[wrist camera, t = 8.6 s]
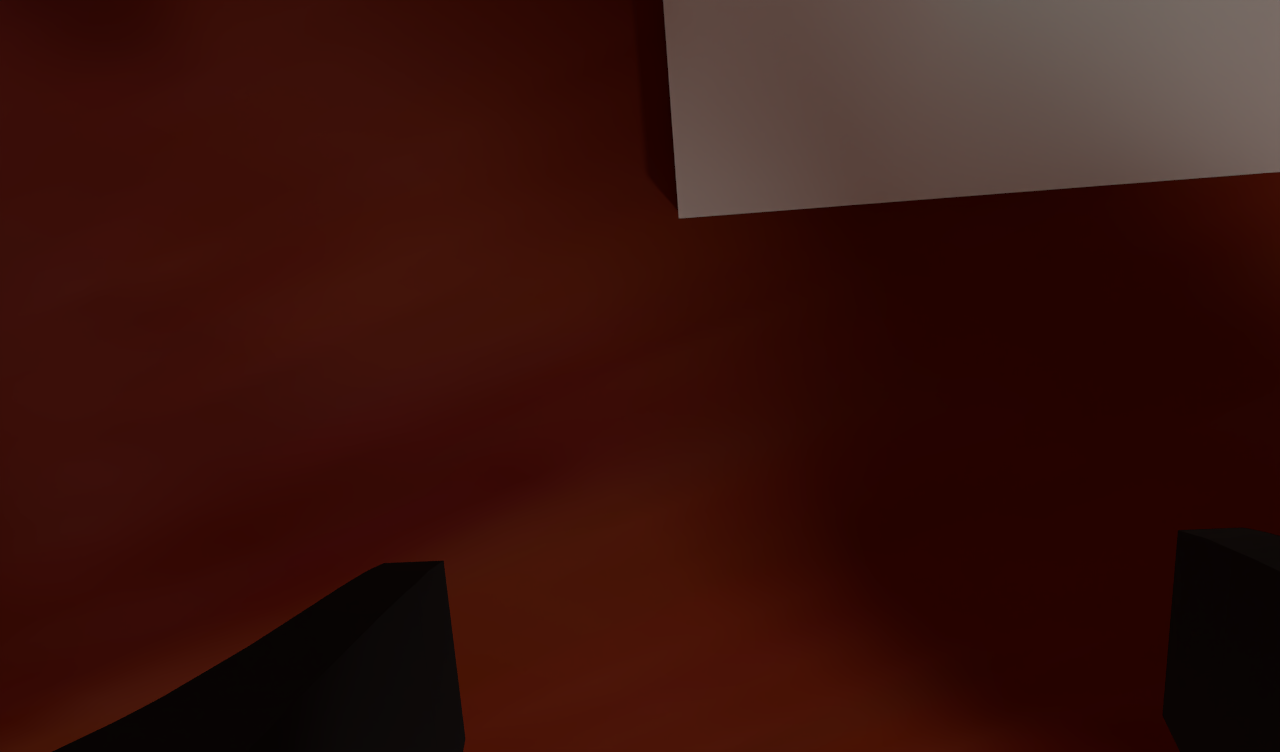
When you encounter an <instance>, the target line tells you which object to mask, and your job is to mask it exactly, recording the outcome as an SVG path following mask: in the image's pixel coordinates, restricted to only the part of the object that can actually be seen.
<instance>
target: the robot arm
mask: <svg viewBox="0 0 1280 752" xmlns="http://www.w3.org/2000/svg"><path fill="white" fill-rule="evenodd" d="M1163 717H1164V719H1165V721H1166V724H1167V726H1168V728H1169V730H1170V732H1171V734H1172V736H1173V738H1174V740H1175V742H1176V744H1177V746H1178V748H1179V751H1180V752H1280V536H1278V535H1274V534H1270V533H1266V532H1262V531H1257V530H1252V529H1248V528H1223V529H1199V530H1178V537H1177V549H1176V561H1175V573H1174V585H1173V597H1172V609H1171V621H1170V633H1169V645H1168V657H1167V669H1166V681H1165V693H1164V705H1163ZM464 743H465V732H464V724H463V716H462V708H461V700H460V691H459V683H458V675H457V667H456V659H455V651H454V642H453V634H452V626H451V618H450V610H449V602H448V594H447V585H446V577H445V569H444V561H427V562H403V563H383V564H381V565H379V566H377V567H374V568H372V569H370V570H368V571H367V572H365V573H363V574H361V575H360V576H358V577H356V578H354V579H353V580H351V581H350V582H348V583H346V584H345V585H343V586H341V587H340V588H338V589H337V590H335V591H334V592H332V593H331V594H329V595H327V596H326V597H324V598H323V599H321V600H320V601H318V602H317V603H315V604H314V605H312V606H310V607H309V608H307V609H306V610H304V611H303V612H301V613H300V614H298V615H297V616H295V617H293V618H292V619H290V620H289V621H287V622H286V623H284V624H283V625H281V626H279V627H278V628H276V629H275V630H273V631H272V632H270V633H269V634H267V635H266V636H264V637H262V638H261V639H259V640H258V641H256V642H255V643H253V644H251V645H250V646H248V647H247V648H245V649H243V650H242V651H240V652H238V653H236V654H235V655H233V656H231V657H230V658H228V659H226V660H225V661H223V662H221V663H219V664H218V665H216V666H214V667H213V668H211V669H209V670H208V671H206V672H204V673H202V674H201V675H199V676H197V677H196V678H194V679H192V680H191V681H189V682H187V683H185V684H184V685H182V686H180V687H179V688H177V689H175V690H174V691H172V692H170V693H168V694H167V695H165V696H163V697H161V698H160V699H158V700H156V701H154V702H152V703H150V704H148V705H147V706H145V707H143V708H141V709H139V710H137V711H135V712H133V713H131V714H129V715H127V716H125V717H123V718H121V719H120V720H118V721H116V722H114V723H112V724H110V725H107V726H105V727H103V728H101V729H99V730H97V731H95V732H93V733H91V734H89V735H86V736H84V737H82V738H80V739H78V740H76V741H74V742H72V743H70V744H68V745H65V746H63V747H61V748H59V749H57V750H55V751H53V752H463V748H464Z"/></svg>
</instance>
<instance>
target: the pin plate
mask: <svg viewBox="0 0 1280 752" xmlns="http://www.w3.org/2000/svg"><path fill="white" fill-rule="evenodd" d="M663 6H664V20H665V34H666V48H667V62H668V75H669V89H670V103H671V117H672V131H673V145H674V159H675V172H676V186H677V200H678V214H679V218H692V217H705V216H717V215H730V214H743V213H756V212H769V211H782V210H795V209H807V208H820V207H833V206H846V205H859V204H872V203H885V202H898V201H910V200H923V199H936V198H949V197H962V196H975V195H988V194H1000V193H1013V192H1026V191H1039V190H1052V189H1065V188H1078V187H1090V186H1103V185H1116V184H1129V183H1142V182H1155V181H1168V180H1181V179H1193V178H1206V177H1219V176H1232V175H1245V174H1258V173H1271V172H1280V0H663Z"/></svg>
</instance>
